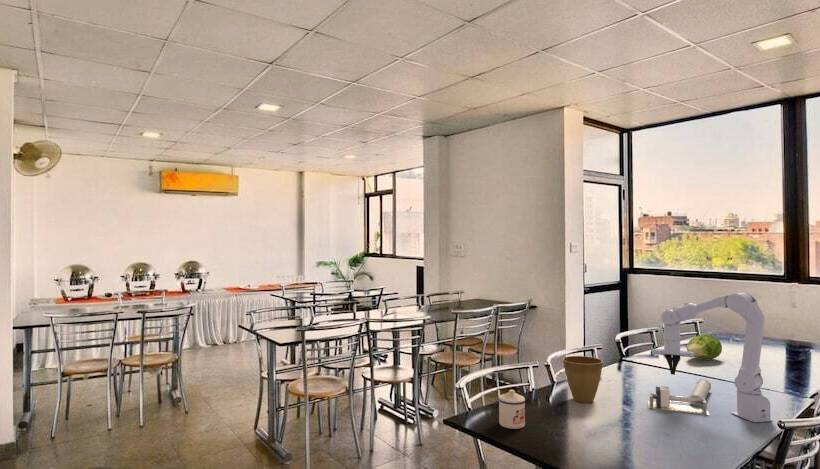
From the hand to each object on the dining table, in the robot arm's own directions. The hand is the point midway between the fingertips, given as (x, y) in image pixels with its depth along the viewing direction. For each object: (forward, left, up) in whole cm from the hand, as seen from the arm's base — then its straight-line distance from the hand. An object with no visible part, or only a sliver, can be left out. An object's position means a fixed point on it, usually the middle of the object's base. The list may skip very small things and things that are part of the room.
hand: (672, 373), depth 191 cm
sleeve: (-8, +10, -10) cm, 16 cm away
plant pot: (+6, +36, -10) cm, 38 cm away
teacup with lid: (-12, +73, -10) cm, 75 cm away
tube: (-2, -11, -10) cm, 15 cm away
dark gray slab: (-6, +12, -10) cm, 17 cm away
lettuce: (+52, -61, -10) cm, 81 cm away
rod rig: (-10, +7, -10) cm, 16 cm away
